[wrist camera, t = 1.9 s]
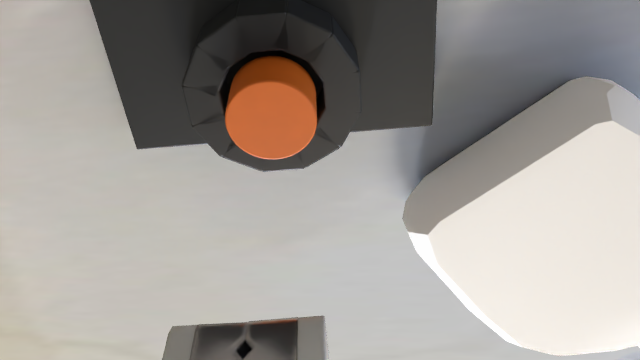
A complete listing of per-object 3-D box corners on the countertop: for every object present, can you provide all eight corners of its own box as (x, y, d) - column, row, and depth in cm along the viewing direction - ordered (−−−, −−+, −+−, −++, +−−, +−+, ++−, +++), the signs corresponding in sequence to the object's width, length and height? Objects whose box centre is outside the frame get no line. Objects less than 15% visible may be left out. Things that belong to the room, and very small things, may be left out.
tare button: (223, 59, 19) (216, 84, 17) (312, 51, 18) (312, 76, 17) (238, 134, 20) (233, 163, 19) (319, 127, 20) (320, 156, 19)
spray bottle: (611, 40, 21) (797, 349, 33) (373, 199, 25) (613, 425, 37) (651, 79, 19) (836, 397, 31) (381, 247, 23) (634, 472, 35)
